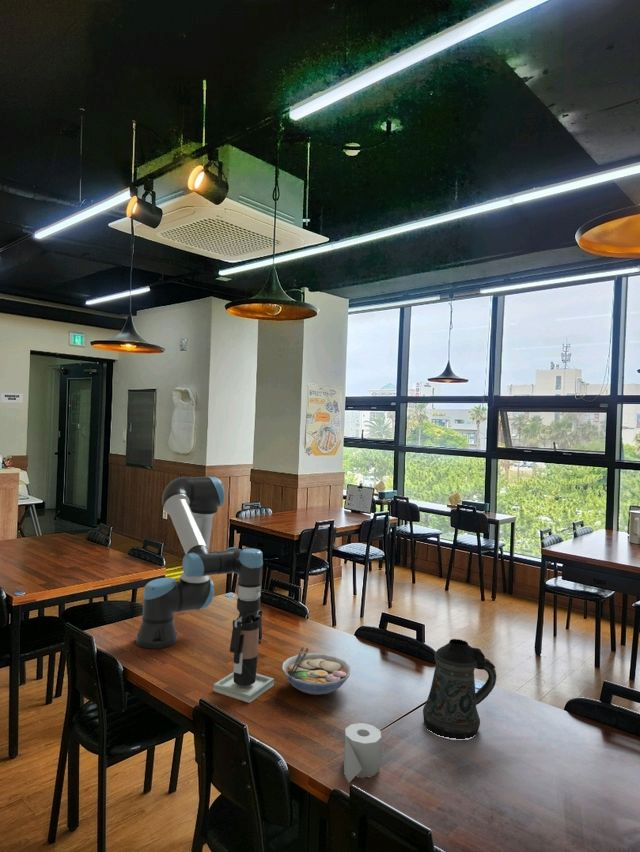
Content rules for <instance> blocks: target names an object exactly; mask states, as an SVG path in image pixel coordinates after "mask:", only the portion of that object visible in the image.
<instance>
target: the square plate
mask: <svg viewBox="0 0 640 852" xmlns="http://www.w3.org/2000/svg"><path fill="white" fill-rule="evenodd" d="M274 685H275V678H273V677H270V676H267V675H263V674H260V673H257V672H256V680H255V683H253V684H251V685H247V686H241V685H237V684H235V683H234V672H233V671H232V672H231V673H229V674H228V675H226V676H225V677H223V678H221V679H220V680H218V681H217V682H215V683H213V692H215V693H218V694H221V695H224V696H227V697H230V698H232V699H237V700H239V701H241V702H246V703H248V704H251V703H252V702H253V701H254V700H256V699H258V698H259V697H260V696H262V695H263V694H264V693H266V692H267V691H269V690H270V689H271V688H272V687H274Z"/></svg>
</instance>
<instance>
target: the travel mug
mask: <svg viewBox="0 0 640 852" xmlns="http://www.w3.org/2000/svg"><path fill="white" fill-rule="evenodd" d="M235 620H238V617H237V618H236V619H235ZM241 624H242V626H241V634H240V635H243V634H244V640H243V647H242V651H241V652H242V653H243V660H242V673H241V674H238V673H235V672H234V683H235V684H237V685H241V686H247V685H251V684H253V683H255V680H256V673H257V667H258V656H259V655H258V654H259V644H258V639H259V618H258V617H256V621H255V622H253V620H251V623H242V622H241Z"/></svg>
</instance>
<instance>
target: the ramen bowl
mask: <svg viewBox="0 0 640 852" xmlns="http://www.w3.org/2000/svg"><path fill="white" fill-rule="evenodd" d="M308 652H309V648H308V647H306V649H305V650H304V646H303V647H301V648H300V651H299V653H298V654H295V655H294V656H291V657H288V658H287V659H286V660H285V661H283V662H282V666H281V669H282V672H283V674H284V676H285V677H286V679H287V681H289V683H290V684H291V685H292V687H293V688H295V689H297V690H298V691H301V692H303V693H305V694H309V695H314V696H319V695H326V694H327V695H328V694H331V693H333V692H334V691H337V690H338V689H340V688H341V687H342V686H343V684H344V683H346V681H347V680H348V678H349V677H350V675H351V673H352V668H351V665H350V664H349V663H347V661H346V660H344V659H341V658H339V657H337V656H334V655H330V654H325V653H311V652H310V653H308Z"/></svg>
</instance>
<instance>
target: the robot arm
mask: <svg viewBox="0 0 640 852" xmlns="http://www.w3.org/2000/svg"><path fill="white" fill-rule="evenodd" d="M161 498H162V499H161V504H162V507H163V509H164V512H165V513H166V514H167V515H169V517H170V519H171V522H172V524H173V526H174V527H173V528H174V529H175V531H176V534H177V537H178V538H179V541H180V544H181V546H182V549H183V552H184V554H185V555H184V556H183V558H182V564H181V565H182V570H183V572H182V573H181V574H180V577H179V581H176V579H175V578H172V577H160V578H155V579H153V580H151V581H148V582H147V583H146V585H144V589H143V595H142V598H143V600H142V601H143V602H142V620H141V625H140V627H139V630H138V633H137V634H136V641H135V642H136V644H137V646H138V647H141V648H144V649H150V650H151V649H154V650H155V649H156V650H157V649H163V648H168V647H171V646H173V645H174V644H176V643H177V641H178V632H177V631H176V624H175V622H174V621H175V620H174V617H175V613H179V612H180V613H181V612H189V611H199V610H201V609H206V608H208V607H209V606H211V604H212V601H213V599H214V594H215V588H214V587H215V584H214V582H213V580H212V579H211V576H213V575H224V574H226V575H227V574H234V573H235V574H236V575H238V581H237V593H236V596H237V600H236V610H237V611H238V612H239V615H238V617H237V618H238V620H236V619H233V620H232V631H231V638H230V646H229V652H230V653H233V670H232V673H233V672H235V673H238V674H241V673H242V660H243V653H242V652H241V651H242V647H243V640H244V634H243V635H240V634H241V626H242V624H241V622H242V623H251V620H253V622H255V621H256V617H258V618H259V639H258V645H261V644H262V643H261V642H262V638H263V627H262V625H263V623H262V621H263V620H262V616H263V611H262V610H260V609H261V598H260V597H261V596H262V595H261V593H262V579H263V565H264V560H263V556H264V555H263V551H261V549H258V548H253V547H251V548H249V547H248V548H243V549H241V548H239V547H234V546H233V547H228V548H226V549H225V550H219V551H210V543H211V539H212V538H211V536H212V527H213V519H214V515H216V514H218V510H219V508H220V507H221V506H223V505H224V503H225V499H226V498H225V488H224V485H223V483H222V481H221V479H219V478H218V477H214V476H213V477H212V476H181V477H177V478H175V479H173V480H171V481H170V482H169V483H168V484H167V485H166V487H165V488H164V490H163V493H162V495H161ZM218 507H219V508H218Z"/></svg>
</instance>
